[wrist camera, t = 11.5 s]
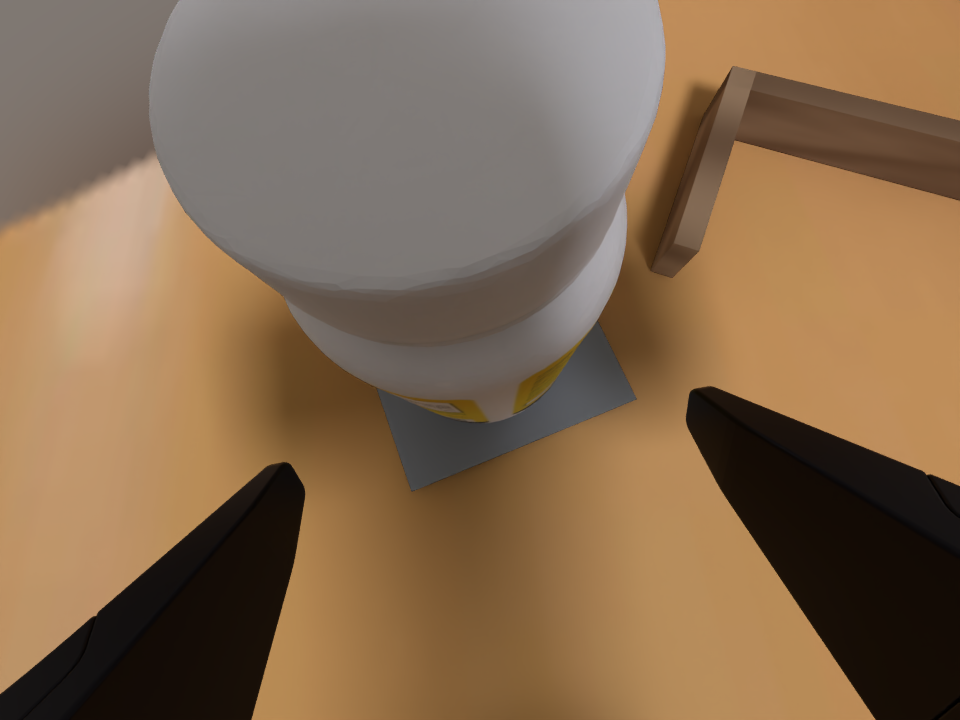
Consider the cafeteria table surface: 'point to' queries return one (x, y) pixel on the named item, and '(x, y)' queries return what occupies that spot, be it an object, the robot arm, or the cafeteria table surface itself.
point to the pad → (459, 445)
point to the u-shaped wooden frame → (805, 147)
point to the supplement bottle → (417, 174)
